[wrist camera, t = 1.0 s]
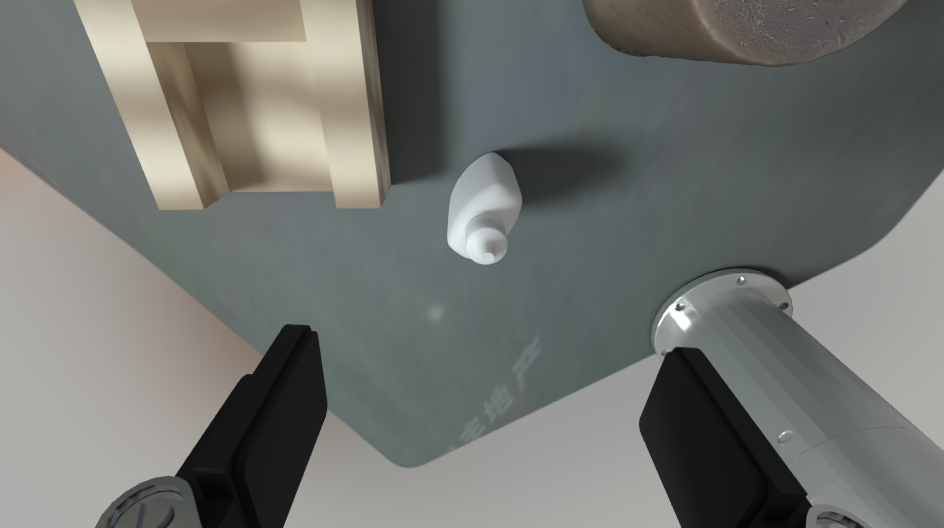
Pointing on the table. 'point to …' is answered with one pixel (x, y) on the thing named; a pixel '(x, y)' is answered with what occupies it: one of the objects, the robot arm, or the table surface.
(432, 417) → the table surface
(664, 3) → the pillar candle
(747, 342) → the robot arm
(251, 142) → the u rest
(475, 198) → the eye dropper bottle
